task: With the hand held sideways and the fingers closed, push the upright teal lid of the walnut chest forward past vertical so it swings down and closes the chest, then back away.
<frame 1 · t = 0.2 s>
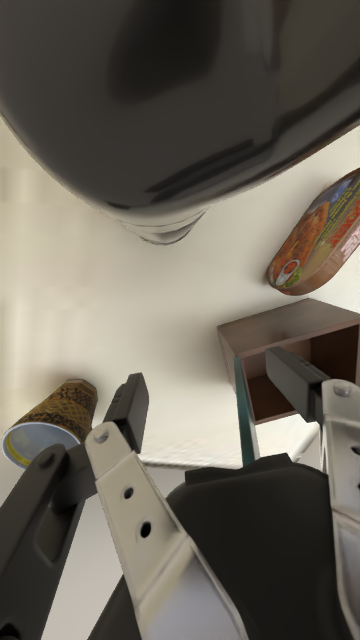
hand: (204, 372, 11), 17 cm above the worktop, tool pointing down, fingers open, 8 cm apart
ceramic cup: (86, 397, 33), on the worktop
tin: (296, 240, 26), on the worktop
chest: (267, 344, 31), on the worktop
lid: (255, 470, 16), point 17 cm above the worktop, hinge at 106.1°
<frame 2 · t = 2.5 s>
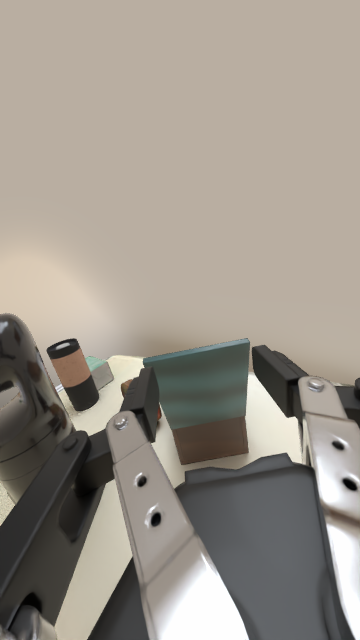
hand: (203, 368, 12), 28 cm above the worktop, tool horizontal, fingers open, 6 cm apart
box: (96, 380, 66), on the worktop
travel mug: (87, 402, 55), on the worktop
tin: (144, 413, 47), on the worktop
chest: (207, 422, 40), on the worktop
lid: (202, 391, 25), point 17 cm above the worktop, hinge at 106.1°
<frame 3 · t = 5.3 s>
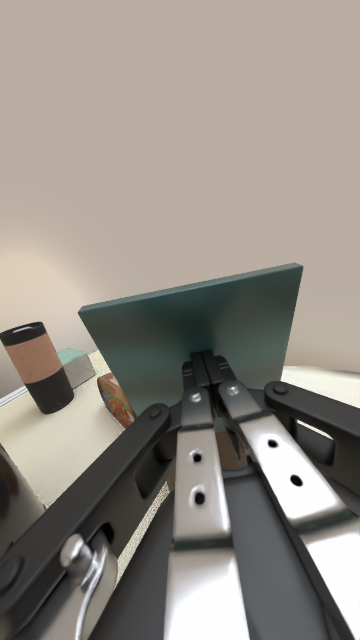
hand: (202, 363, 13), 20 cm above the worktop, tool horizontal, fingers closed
box: (74, 377, 55), on the worktop
travel mug: (58, 403, 44), on the worktop
tin: (126, 417, 35), on the worktop
chest: (209, 429, 29), on the worktop
lid: (203, 380, 14), point 17 cm above the worktop, hinge at 105.3°, touching gripper
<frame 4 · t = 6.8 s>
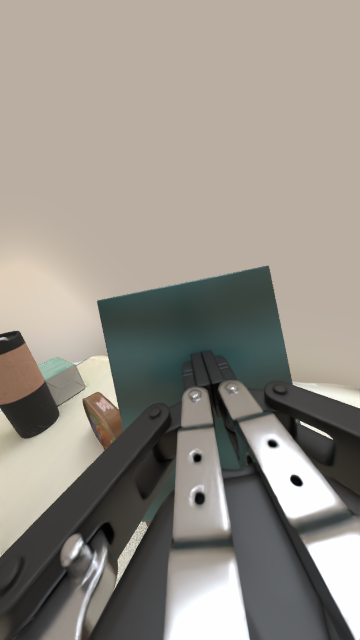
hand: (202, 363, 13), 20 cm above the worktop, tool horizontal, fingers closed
box: (62, 390, 49), on the worktop
travel mug: (41, 423, 38), on the worktop
tin: (116, 446, 30), on the worktop
lid: (204, 392, 13), point 17 cm above the worktop, hinge at 72.7°
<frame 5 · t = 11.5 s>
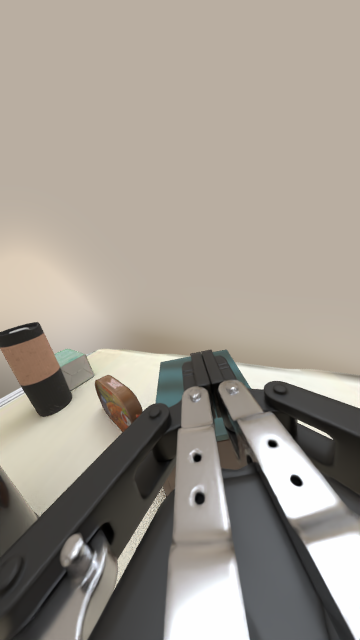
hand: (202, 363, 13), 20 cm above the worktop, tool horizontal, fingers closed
box: (73, 378, 54), on the worktop
travel mug: (56, 405, 43), on the worktop
tin: (124, 420, 35), on the worktop
chest: (209, 435, 28), on the worktop
lid: (200, 386, 26), point 9 cm above the worktop, hinge at -0.1°
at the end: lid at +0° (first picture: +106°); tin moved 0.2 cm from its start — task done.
